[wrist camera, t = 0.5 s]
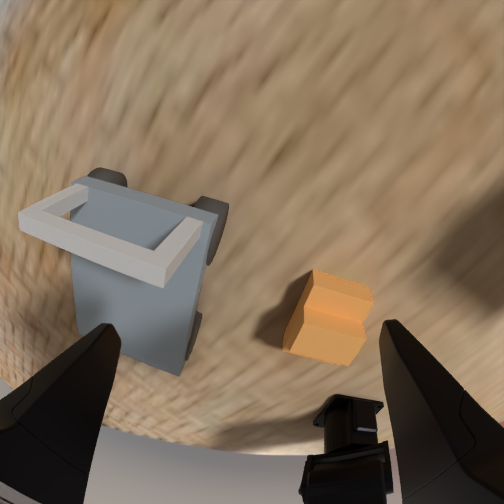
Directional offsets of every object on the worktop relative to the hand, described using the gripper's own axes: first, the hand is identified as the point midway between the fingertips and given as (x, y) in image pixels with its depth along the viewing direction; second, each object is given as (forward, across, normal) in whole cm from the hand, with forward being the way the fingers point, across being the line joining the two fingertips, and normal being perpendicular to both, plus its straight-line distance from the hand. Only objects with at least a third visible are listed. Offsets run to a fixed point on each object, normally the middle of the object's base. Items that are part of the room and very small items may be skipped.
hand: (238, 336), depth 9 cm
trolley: (+14, +10, +6) cm, 18 cm away
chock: (+13, -4, +11) cm, 18 cm away
